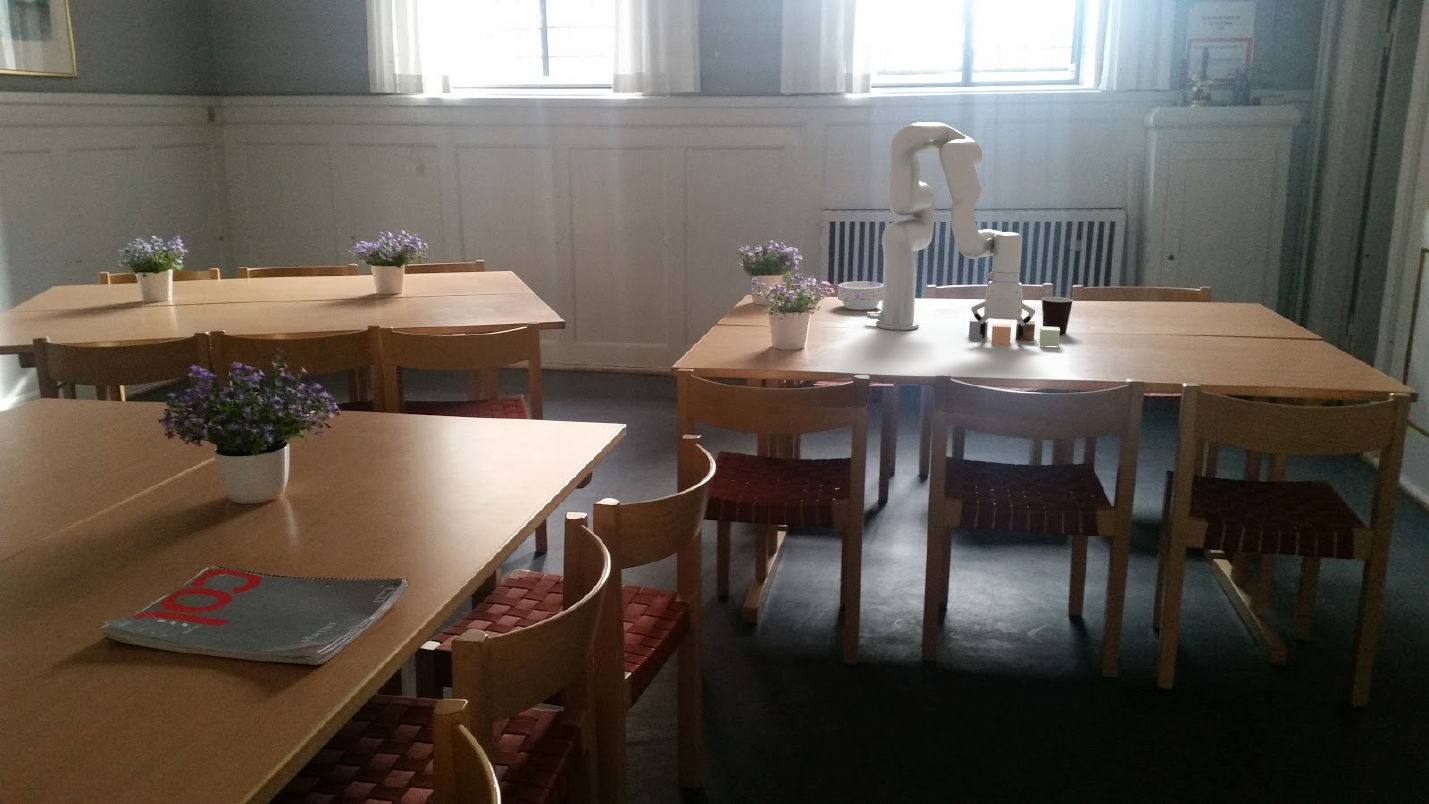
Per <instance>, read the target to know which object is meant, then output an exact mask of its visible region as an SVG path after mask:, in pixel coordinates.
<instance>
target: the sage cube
mask: <svg viewBox="0 0 1429 804" xmlns="http://www.w3.org/2000/svg"><path fill="white" fill-rule="evenodd" d="M1039 331H1040V332H1039V343H1040V346H1058V348H1059V344H1060V336H1061V335H1060V328H1059V327H1045V326H1043V325H1042V326H1041V325H1040V330H1039Z"/></svg>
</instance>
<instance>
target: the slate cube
mask: <svg viewBox="0 0 1429 804" xmlns="http://www.w3.org/2000/svg"><path fill="white" fill-rule="evenodd" d="M985 323H986V328H985V338H982V335H980V322H979V321H978V320H977V319H976V318H975V317H970V320H969V324H968V325H969V326H968V327H969V329H968V338H969V339H979V340H980V339H982V340H983V339H984V340H987V339H988V330H989V329H988V327H989V318H988V319H987V320H986V321H985Z"/></svg>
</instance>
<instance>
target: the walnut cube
mask: <svg viewBox="0 0 1429 804" xmlns="http://www.w3.org/2000/svg"><path fill="white" fill-rule="evenodd" d="M1018 325H1019V322H1018V321H1017V320H1016V327H1015V330H1016V331H1015V341H1016V342H1030V341H1035V331H1036V321H1035V320H1030V321H1029V322H1028V323H1026V324H1025V325H1024V328H1023V337H1020V340H1017V337H1018Z"/></svg>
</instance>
